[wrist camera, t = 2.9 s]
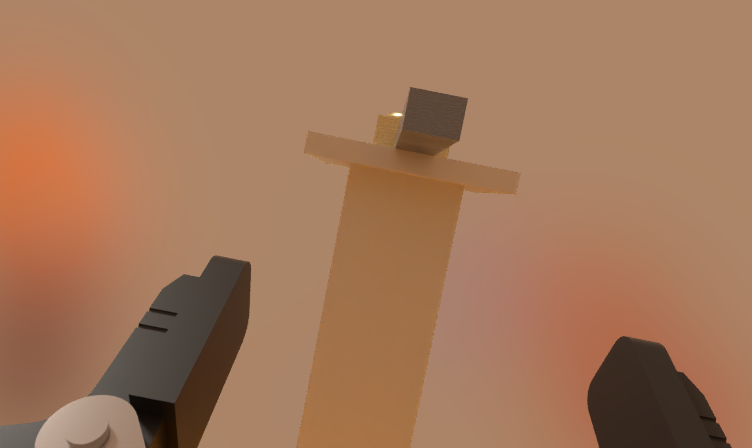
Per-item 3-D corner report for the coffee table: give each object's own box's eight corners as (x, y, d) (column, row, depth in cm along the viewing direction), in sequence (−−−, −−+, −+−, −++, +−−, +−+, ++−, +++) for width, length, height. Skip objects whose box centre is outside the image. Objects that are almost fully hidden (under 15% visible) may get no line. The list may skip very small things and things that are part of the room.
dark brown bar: (435, 168, 40) (443, 130, 40) (495, 147, 19) (512, 68, 19) (372, 156, 40) (380, 118, 39) (365, 122, 19) (380, 42, 19)
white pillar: (399, 556, 42) (478, 177, 40) (407, 700, 30) (520, 172, 28) (257, 529, 42) (329, 148, 40) (209, 663, 30) (307, 131, 28)
